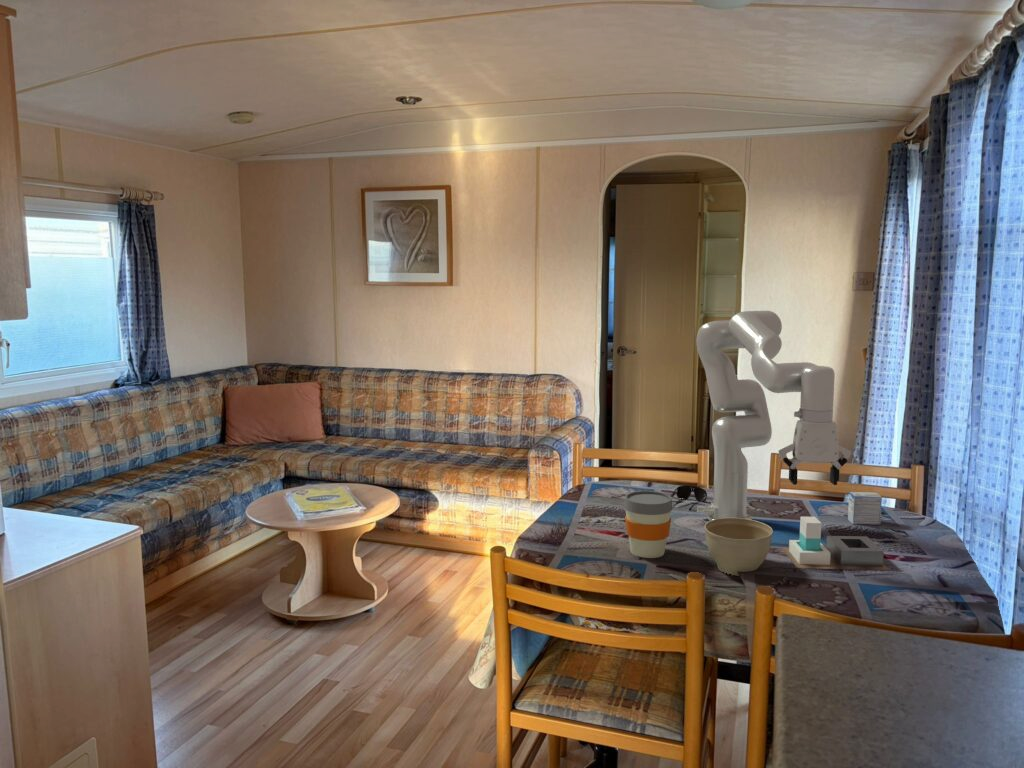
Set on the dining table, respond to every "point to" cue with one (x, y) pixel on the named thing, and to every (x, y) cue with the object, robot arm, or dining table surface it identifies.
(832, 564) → the panel board
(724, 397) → the robot arm
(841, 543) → the port block
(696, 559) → the dining table surface
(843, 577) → the dining table surface
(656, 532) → the reusable coffee cup
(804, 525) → the plug
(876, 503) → the medicine box
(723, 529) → the planter bowl
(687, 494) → the sunglasses
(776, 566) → the dining table surface
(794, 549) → the white rectangular frame
